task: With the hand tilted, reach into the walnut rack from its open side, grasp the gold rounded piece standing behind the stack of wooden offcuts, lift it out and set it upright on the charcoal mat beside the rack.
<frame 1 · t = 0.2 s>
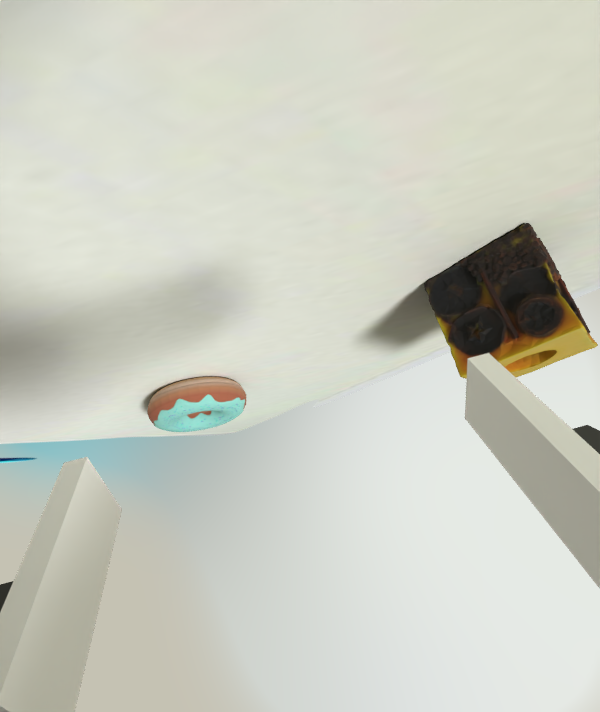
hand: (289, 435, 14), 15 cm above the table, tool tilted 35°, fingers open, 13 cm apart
donut: (196, 388, 52), on the table
yellow brown cube: (486, 267, 41), on the table
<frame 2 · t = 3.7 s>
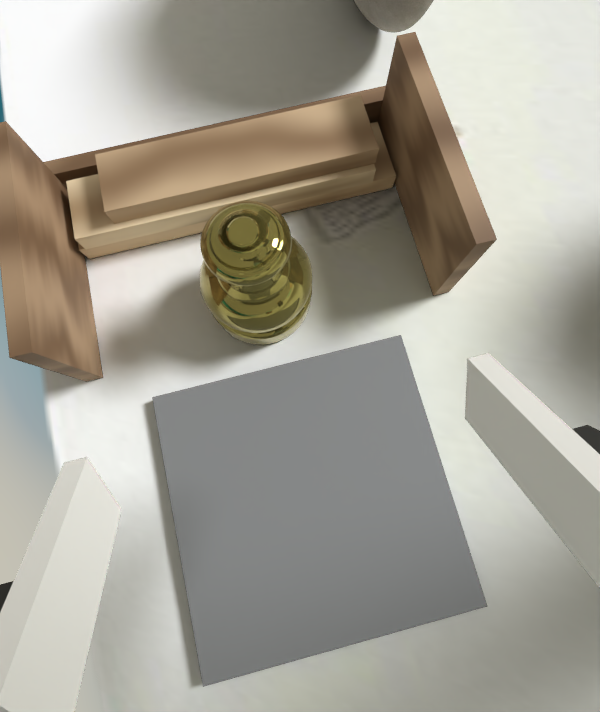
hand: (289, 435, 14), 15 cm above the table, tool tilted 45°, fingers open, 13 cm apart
gold rounded piece: (262, 299, 31), on the table
grey thick disc: (368, 6, 37), on the table
offcut rack: (261, 298, 31), on the table
charcoal mat: (310, 494, 28), on the table
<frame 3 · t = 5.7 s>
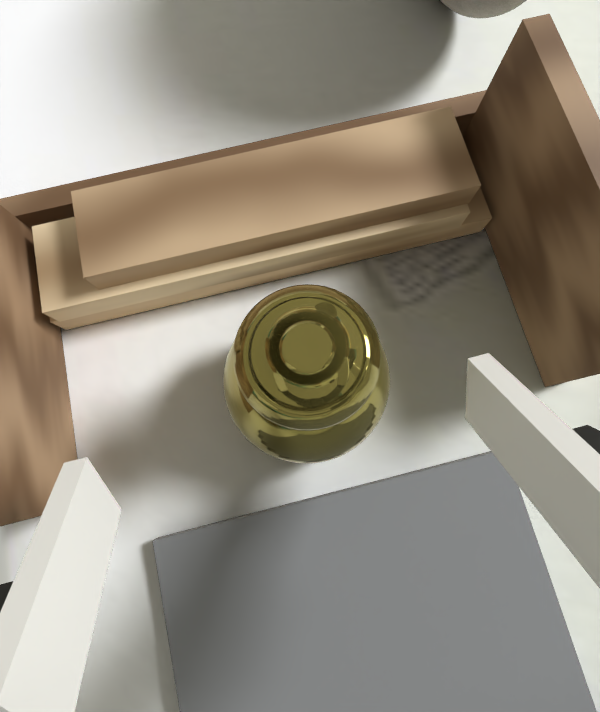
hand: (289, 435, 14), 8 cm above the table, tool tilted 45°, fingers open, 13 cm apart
gold rounded piece: (306, 390, 23), on the table
offcut rack: (305, 389, 22), on the table
charcoal mat: (380, 688, 19), on the table
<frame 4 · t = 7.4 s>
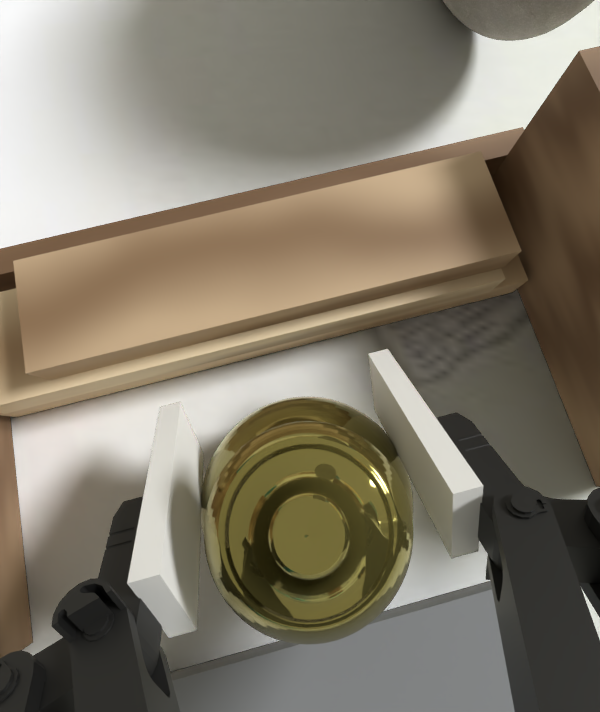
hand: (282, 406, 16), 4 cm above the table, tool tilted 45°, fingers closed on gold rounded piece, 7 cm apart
gold rounded piece: (305, 490, 19), on the table, touching gripper
grey thick disc: (453, 1, 25), on the table
offcut rack: (305, 490, 18), on the table
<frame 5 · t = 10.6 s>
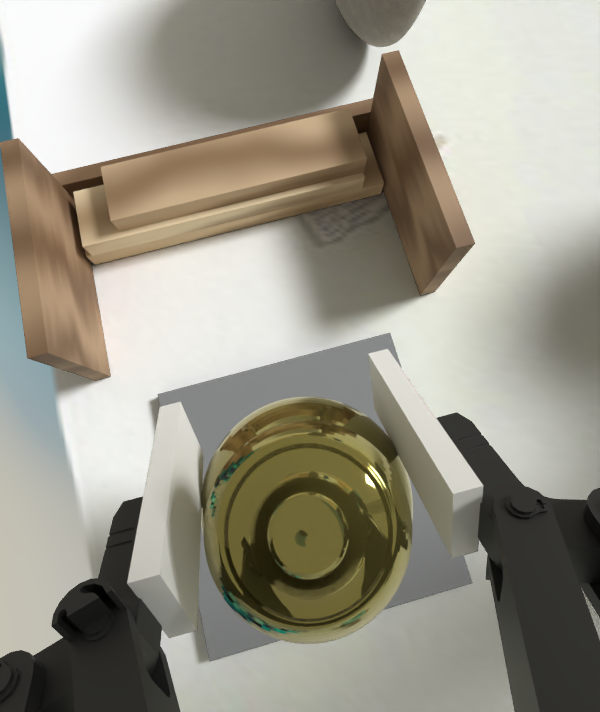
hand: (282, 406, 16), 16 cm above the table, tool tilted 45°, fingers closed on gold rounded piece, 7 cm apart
gold rounded piece: (305, 490, 19), point 12 cm above the table, touching gripper
grey thick disc: (356, 21, 39), on the table
offcut rack: (259, 300, 33), on the table
charcoal mat: (307, 482, 30), on the table
when the fingers open (5 cm above the table, at t = 14.0 s): gold rounded piece stays where it is, resting on charcoal mat.
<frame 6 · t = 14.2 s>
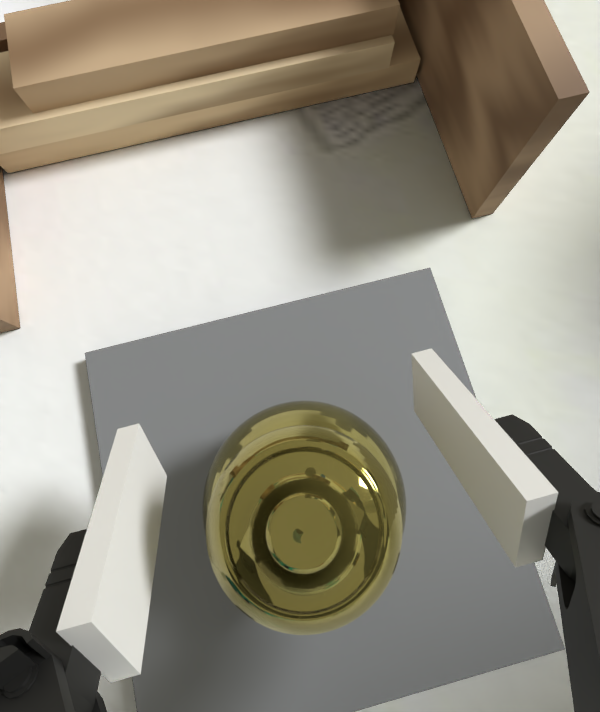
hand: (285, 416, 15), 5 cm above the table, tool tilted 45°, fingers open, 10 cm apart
gold rounded piece: (304, 491, 19), point 1 cm above the table, touching charcoal mat
offcut rack: (239, 223, 23), on the table
charcoal mat: (305, 487, 20), on the table
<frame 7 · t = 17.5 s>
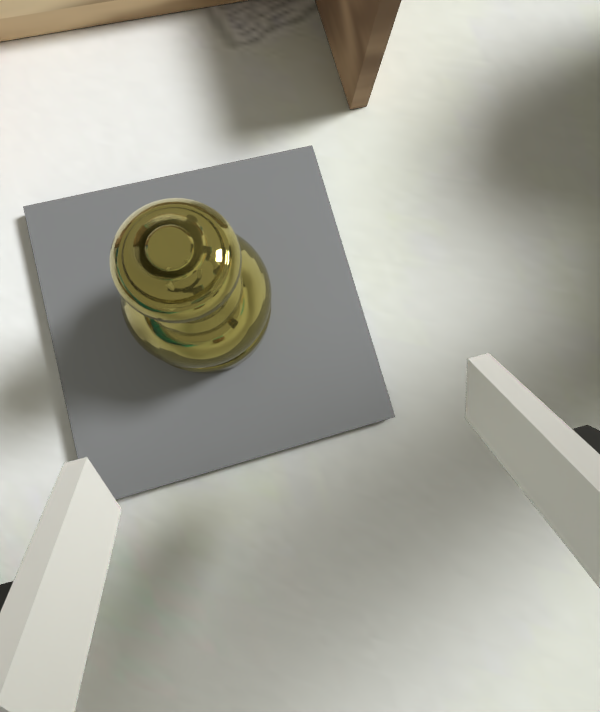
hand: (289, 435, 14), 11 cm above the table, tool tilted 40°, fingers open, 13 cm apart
gold rounded piece: (208, 314, 25), point 1 cm above the table, touching charcoal mat
offcut rack: (156, 105, 27), on the table
charcoal mat: (211, 314, 26), on the table
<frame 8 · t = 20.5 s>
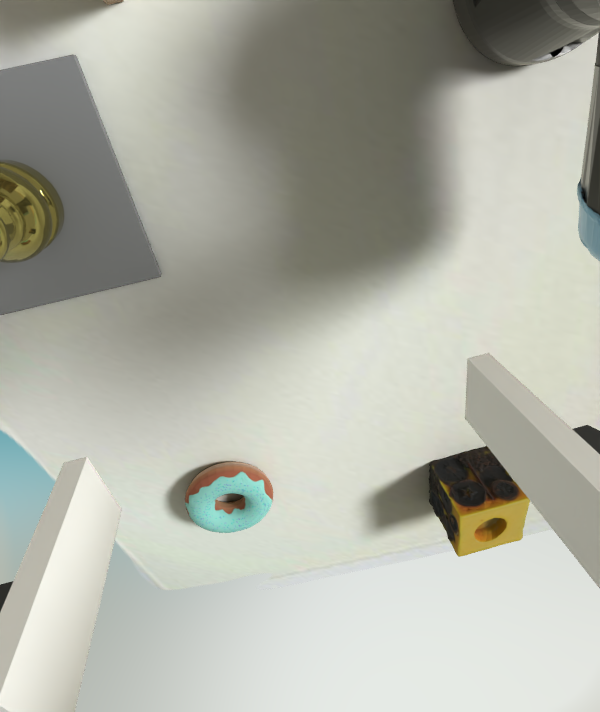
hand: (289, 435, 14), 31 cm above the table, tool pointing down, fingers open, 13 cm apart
gold rounded piece: (19, 205, 36), point 1 cm above the table, touching charcoal mat
donut: (229, 485, 59), on the table
yellow brown cube: (457, 473, 66), on the table
charcoal mat: (22, 202, 36), on the table
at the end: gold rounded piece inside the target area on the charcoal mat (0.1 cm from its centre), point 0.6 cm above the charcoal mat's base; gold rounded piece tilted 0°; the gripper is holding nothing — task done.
